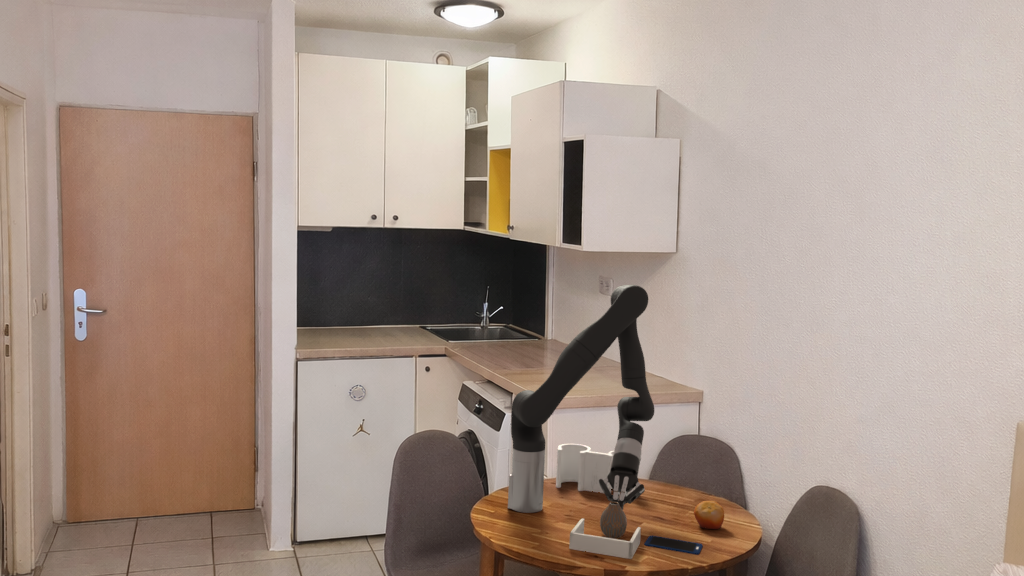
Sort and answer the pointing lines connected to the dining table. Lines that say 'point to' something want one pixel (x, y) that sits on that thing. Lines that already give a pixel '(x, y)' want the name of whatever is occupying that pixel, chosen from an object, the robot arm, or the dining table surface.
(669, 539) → the cell phone
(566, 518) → the dining table surface
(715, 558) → the dining table surface
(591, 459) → the bracket
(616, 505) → the vase
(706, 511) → the fruit
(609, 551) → the frame
